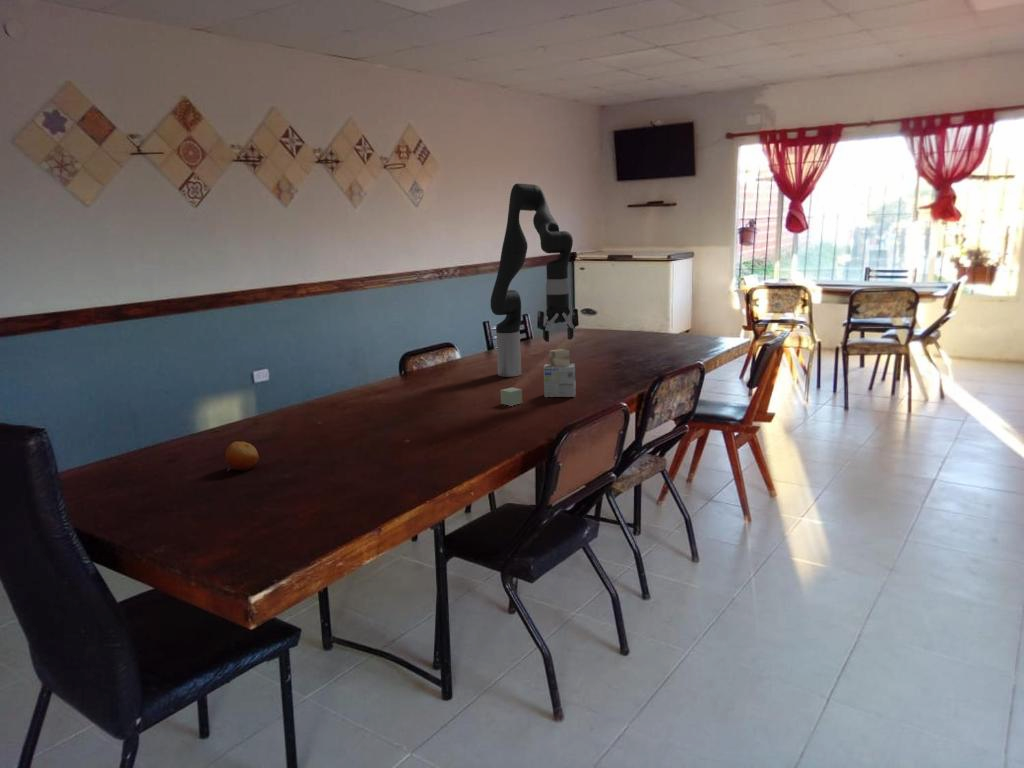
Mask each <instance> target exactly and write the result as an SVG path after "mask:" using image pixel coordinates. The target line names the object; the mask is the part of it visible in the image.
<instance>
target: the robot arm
mask: <svg viewBox="0 0 1024 768" xmlns="http://www.w3.org/2000/svg"><path fill="white" fill-rule="evenodd" d="M521 211H527V212H528V211H529V212H533V211H535V213H534V216H533V218H532V219H533V226H534V229H535V230H536V232H537V233H538V235H539V239H540V241H539V242H540V248H541V250H542V251H543V252H544V253H546V254H559V255H558V257H557V258H556V259H553V260H550V261H548V262H547V263H546V283H545V285H546V287H545V297H546V298H545V299H546V300H545V301H546V309H545V310H543V311H542V310H538V311H537V319H536V320H537V325H536V327H537V329H539V330H542V339H543V341H544V342H545V343H547V342H548V343H549V342H550V331H549V329H550V328H551V326H553V324H559V323H562V324H563V323H564V324H565V325H566V326H567V329H566V330H567V331H566V332H567V340H570V341H571V340H572V339H573V338H574V328H575V327H579V325H580V324H579V309H578V308H574V307H572V308H569V307H570V296H569V295H570V293H569V291H570V285H569V278H568V277H569V275H568V273H569V272H568V268H569V267H568V266H569V261H570V257H571V252H572V250H573V249H572V248H573V245H574V244H573V243H574V240H573V236H572V234H571V233H570V232H569V231H566V230H560V227H559V224H558V223H557V221H556V219H555V218H554V217H553V215H552V214H551V211H550V209H549V206H548V203H547V200H546V197H545V194H544V191H543V190H542V188H541V187H540V186H539V185H537V184H530V183H528V184H527V183H515V184H514V185H513V186H512V188H511V191H510V196H509V202H508V213H507V222H506V228H505V233H504V238H503V242H502V247H501V253H500V259H499V265H498V270H497V275H496V279H495V282H494V286H493V289H492V293H491V297H490V309H491V312H492V313H493V314H494V316H495V315H496V316H505V318H503V320H502V321H500V322H499V323H497V324H496V326H495V335H496V338H495V339H496V354H497V355H496V357H497V360H496V362H497V375H498V376H499V377H502V378H503V377H506V378H507V377H508V378H510V377H511V378H513V377H518V376H521V375H522V360H521V359H522V357H521V355H522V354H521V332H520V330H521V323H522V301H521V295H520V294H519V292H518V291H517V290H515V289H509V287H510V284H511V282H512V281H513V279H514V278H515V277H516V276H517V274H518V273H519V272H520V270H521V269H522V268H523V266H524V265H525V261H526V256H527V252H528V248H529V247H528V241H527V238H526V236H525V234H524V230H523V229H522V227H521V223H520V213H521ZM569 315H571V319H572V320H571V319H570V318H569ZM546 317H547V318H546ZM545 318H546V320H545V322H544V319H545Z"/></svg>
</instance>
